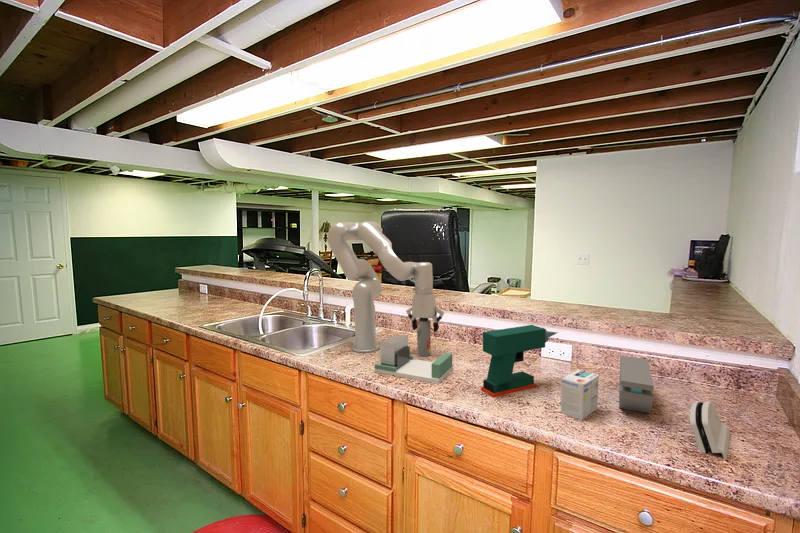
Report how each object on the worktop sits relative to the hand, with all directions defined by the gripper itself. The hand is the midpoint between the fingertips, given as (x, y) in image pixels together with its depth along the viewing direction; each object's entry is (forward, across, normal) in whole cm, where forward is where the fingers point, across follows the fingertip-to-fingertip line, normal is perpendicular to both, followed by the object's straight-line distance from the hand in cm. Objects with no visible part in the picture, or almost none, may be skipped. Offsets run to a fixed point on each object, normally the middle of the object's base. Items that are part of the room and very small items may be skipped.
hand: (425, 330), depth 165 cm
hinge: (+14, +91, -31) cm, 97 cm away
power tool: (+12, +43, -15) cm, 47 cm away
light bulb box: (+13, +61, -28) cm, 68 cm away
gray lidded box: (+13, +76, -15) cm, 79 cm away
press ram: (+9, -5, -19) cm, 22 cm away
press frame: (+11, +3, -19) cm, 22 cm away
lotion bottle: (+11, -1, 0) cm, 11 cm away
